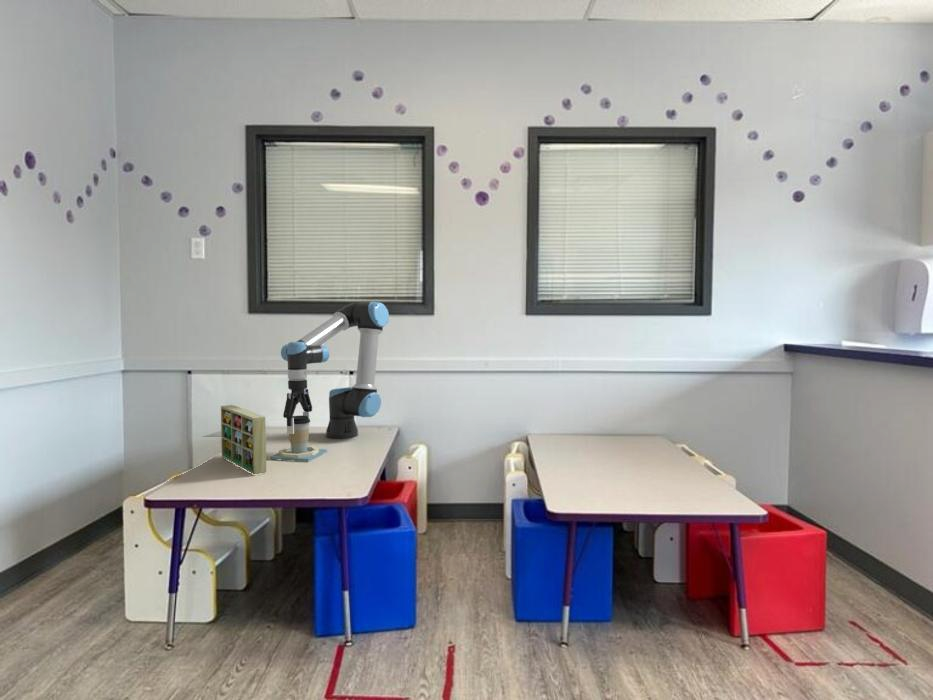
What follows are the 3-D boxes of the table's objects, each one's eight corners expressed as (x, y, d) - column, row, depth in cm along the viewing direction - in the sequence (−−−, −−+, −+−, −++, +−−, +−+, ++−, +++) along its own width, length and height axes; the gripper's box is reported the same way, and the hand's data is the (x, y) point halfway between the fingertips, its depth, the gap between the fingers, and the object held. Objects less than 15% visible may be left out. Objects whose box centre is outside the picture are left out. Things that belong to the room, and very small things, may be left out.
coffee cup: (304, 456, 241) (303, 419, 240) (283, 455, 243) (282, 418, 242) (314, 450, 250) (314, 415, 249) (294, 449, 252) (293, 414, 251)
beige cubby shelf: (221, 458, 242) (220, 405, 241) (233, 456, 245) (231, 404, 244) (254, 476, 216) (253, 417, 215) (266, 474, 219) (265, 416, 218)
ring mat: (290, 450, 256) (290, 444, 256) (327, 452, 253) (326, 446, 253) (269, 459, 240) (269, 453, 240) (308, 462, 236) (308, 456, 236)
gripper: (290, 383, 231) (292, 437, 233) (319, 376, 255) (320, 424, 257) (273, 382, 233) (274, 436, 234) (303, 375, 257) (304, 424, 258)
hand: (298, 430), depth 246 cm, fingers open, 13 cm apart
